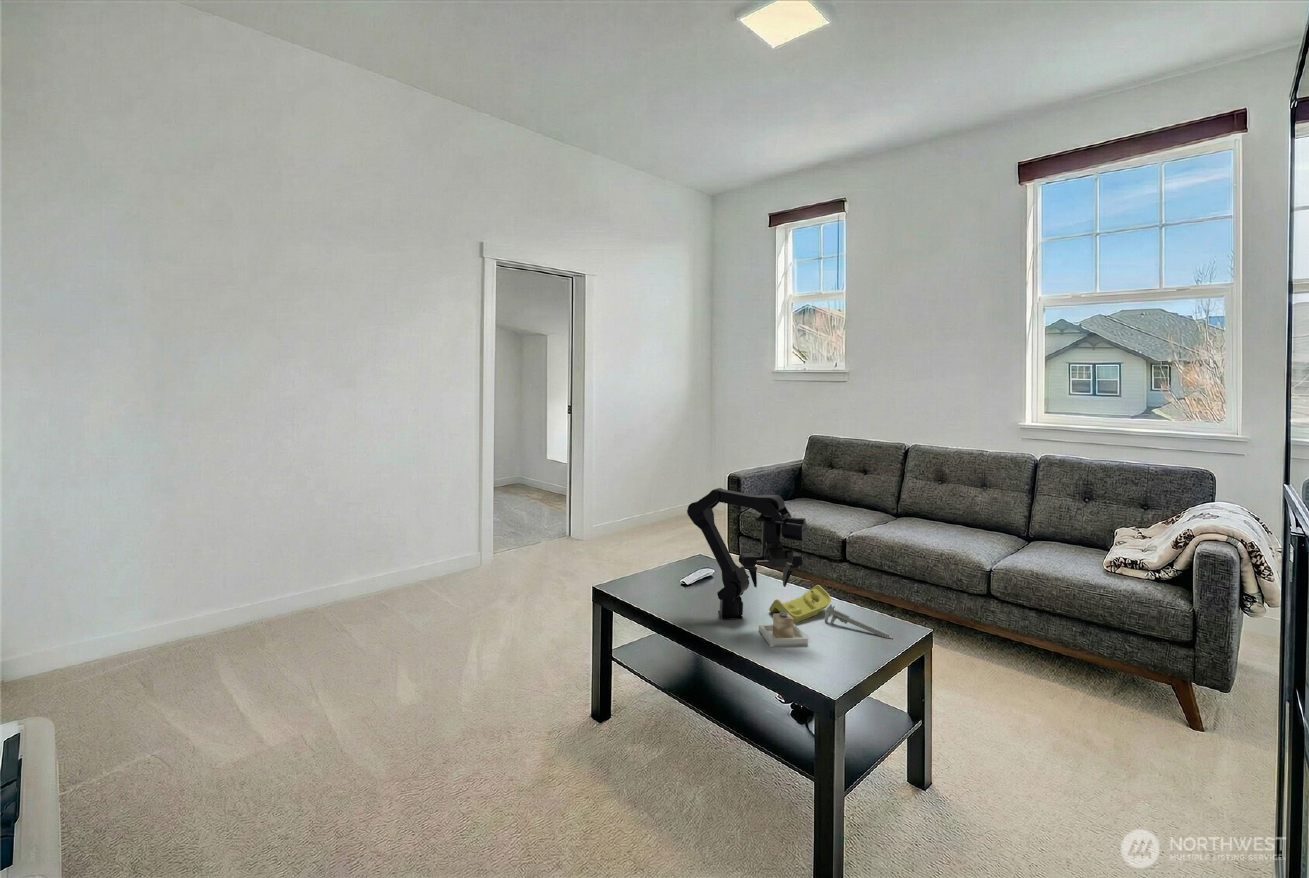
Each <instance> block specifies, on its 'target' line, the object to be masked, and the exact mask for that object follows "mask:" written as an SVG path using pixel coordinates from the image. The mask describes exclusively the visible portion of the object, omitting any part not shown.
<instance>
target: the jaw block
mask: <svg viewBox="0 0 1309 878" xmlns="http://www.w3.org/2000/svg"><path fill="white" fill-rule="evenodd" d="M772 617H773V618H772V624H773V634H774V636H775V637H776V638H793V624H794V623H793V620H794V619H793V618H792V617H791V616H790V615H789V613H787V612H780V611H779V612H774V613H773V616H772Z"/></svg>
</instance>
